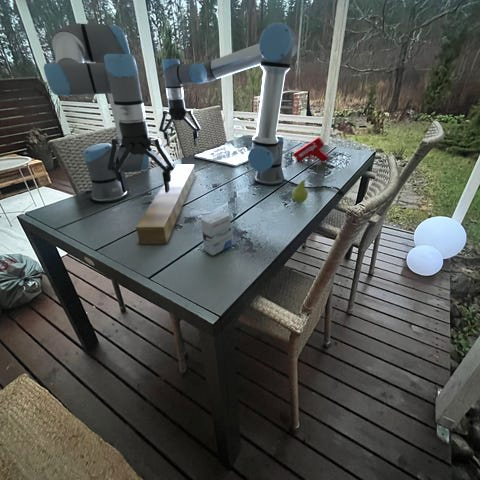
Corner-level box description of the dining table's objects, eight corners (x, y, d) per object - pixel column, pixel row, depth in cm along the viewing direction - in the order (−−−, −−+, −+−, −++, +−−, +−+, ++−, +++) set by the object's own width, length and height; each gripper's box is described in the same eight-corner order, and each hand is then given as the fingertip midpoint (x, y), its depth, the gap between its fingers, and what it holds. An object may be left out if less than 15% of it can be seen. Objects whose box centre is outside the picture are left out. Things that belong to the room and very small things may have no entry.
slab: (178, 176, 151) (177, 164, 148) (195, 176, 151) (194, 164, 148) (139, 243, 94) (135, 227, 90) (166, 243, 94) (163, 227, 90)
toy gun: (332, 156, 168) (319, 135, 164) (331, 158, 165) (319, 137, 161) (306, 172, 178) (294, 152, 174) (305, 174, 175) (293, 154, 171)
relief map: (235, 166, 165) (235, 158, 162) (194, 157, 182) (193, 149, 179) (260, 156, 183) (260, 148, 180) (220, 148, 201) (220, 141, 198)
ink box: (222, 240, 95) (220, 209, 89) (232, 245, 92) (231, 214, 86) (203, 250, 90) (200, 218, 84) (212, 256, 87) (210, 224, 81)
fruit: (288, 200, 123) (290, 174, 116) (302, 197, 125) (305, 172, 119) (296, 206, 118) (299, 179, 111) (310, 203, 120) (314, 177, 114)
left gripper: (81, 122, 73) (103, 195, 85) (173, 123, 73) (183, 195, 85) (94, 117, 79) (112, 186, 91) (179, 118, 79) (187, 186, 91)
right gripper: (146, 100, 123) (155, 148, 135) (201, 98, 123) (205, 146, 134) (151, 98, 130) (159, 144, 141) (203, 97, 129) (207, 143, 141)
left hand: (146, 190), depth 88 cm, fingers open, 13 cm apart
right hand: (182, 145), depth 138 cm, fingers open, 13 cm apart
